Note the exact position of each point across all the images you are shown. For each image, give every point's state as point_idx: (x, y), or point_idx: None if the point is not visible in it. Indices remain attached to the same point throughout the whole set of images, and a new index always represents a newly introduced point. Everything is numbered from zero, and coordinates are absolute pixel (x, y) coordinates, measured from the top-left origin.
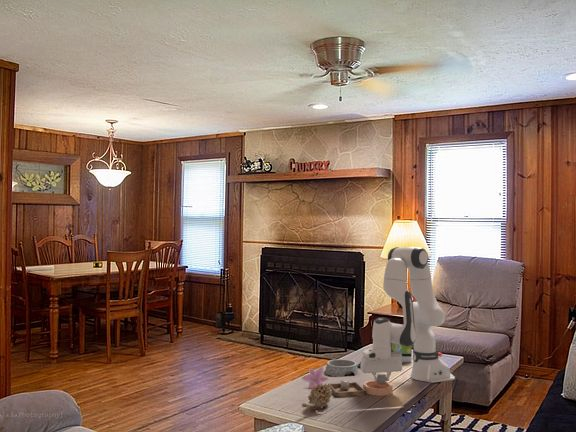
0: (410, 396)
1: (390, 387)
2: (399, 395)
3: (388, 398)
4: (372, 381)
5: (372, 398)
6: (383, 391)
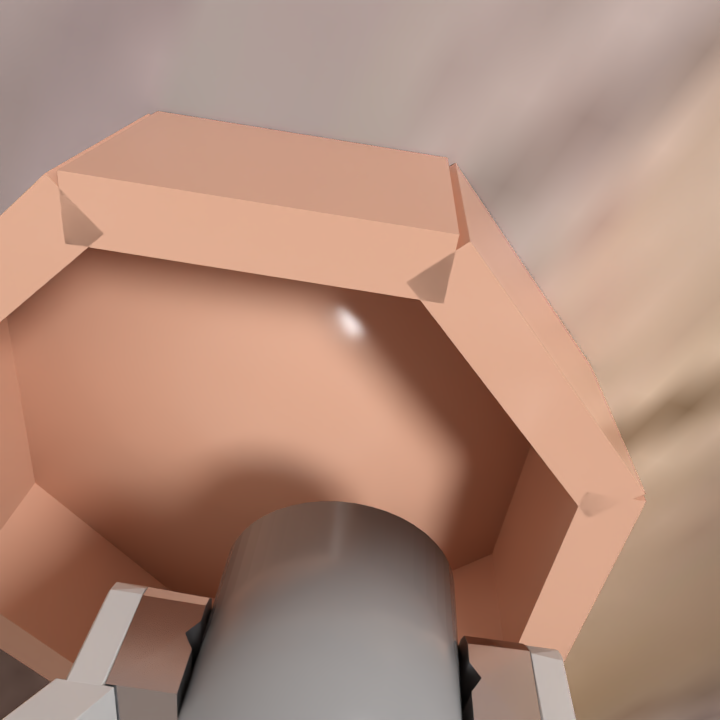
0: (690, 704)
1: None
2: None
3: None
4: (211, 262)
5: None
6: None
